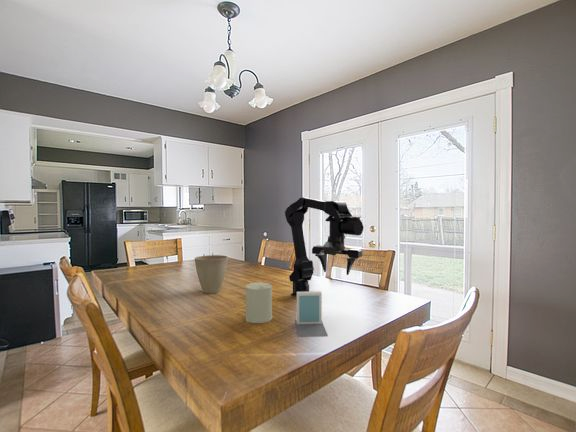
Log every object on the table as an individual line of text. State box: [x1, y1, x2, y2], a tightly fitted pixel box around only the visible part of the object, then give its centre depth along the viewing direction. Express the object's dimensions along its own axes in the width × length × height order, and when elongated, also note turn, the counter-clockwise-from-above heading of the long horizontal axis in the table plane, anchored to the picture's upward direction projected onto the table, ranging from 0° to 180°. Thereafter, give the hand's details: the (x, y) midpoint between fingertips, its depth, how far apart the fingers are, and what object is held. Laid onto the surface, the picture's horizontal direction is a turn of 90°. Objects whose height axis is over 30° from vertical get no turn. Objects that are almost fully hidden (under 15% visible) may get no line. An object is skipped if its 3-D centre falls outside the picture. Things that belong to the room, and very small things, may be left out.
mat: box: [294, 319, 329, 338], centre depth 91 cm, size 13×9×1 cm
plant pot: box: [194, 254, 229, 295], centre depth 134 cm, size 15×15×16 cm
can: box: [245, 282, 273, 324], centre depth 100 cm, size 9×9×12 cm
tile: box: [296, 290, 323, 324], centre depth 95 cm, size 2×8×10 cm, turn 92°
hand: (336, 273), depth 113 cm, fingers open, 9 cm apart
